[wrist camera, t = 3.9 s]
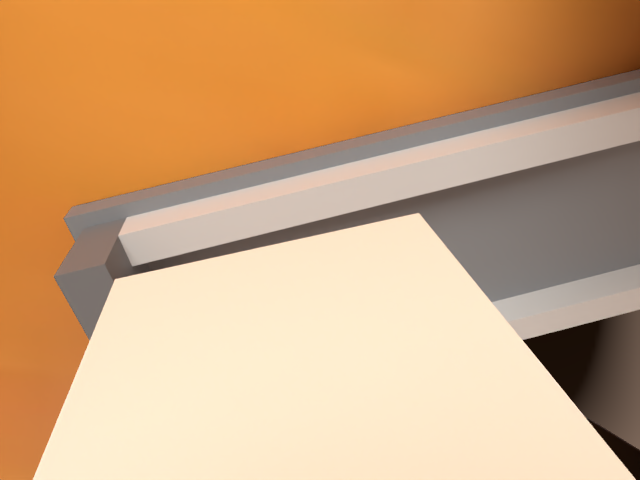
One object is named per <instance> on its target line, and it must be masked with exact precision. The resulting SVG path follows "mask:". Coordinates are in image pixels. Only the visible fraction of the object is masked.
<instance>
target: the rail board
mask: <svg viewBox="0 0 640 480" xmlns="http://www.w3.org/2000/svg"><path fill="white" fill-rule="evenodd" d="M416 213H419V214H420V215H421V216H422V217H423V219H424V220H425V221H426V222H427V224H428V225H429V226H430V227H431V229H432V230H433V231H434V232H435V233H436V235H437V236H438V237H439V238H440V240H441V241H442V242H443V243H444V245H445V246H446V247H447V248H448V249H449V251H450V252H451V253H452V254H453V256H454V257H455V258H456V259H457V260H458V262H459V263H460V264H461V265H462V267H463V268H464V269H465V270H466V272H467V273H468V274H469V275H470V276H471V278H472V279H473V280H474V281H475V283H476V284H477V285H478V286H479V288H480V289H481V290H482V291H483V292H484V294H485V295H486V296H487V297H488V299H489V300H490V301H491V302H492V304H493V305H494V306H495V307H496V308H497V310H498V311H499V312H500V313H501V315H502V316H503V317H504V318H505V319H506V321H507V322H508V323H509V324H510V326H511V327H512V328H513V329H514V331H515V332H516V333H517V334H518V335H519V337H520V338H521V339H522V340H524V339H527V338H532V337H536V336H540V335H543V334H547V333H551V332H555V331H559V330H563V329H567V328H570V327H574V326H578V325H582V324H586V323H590V322H594V321H597V320H601V319H605V318H609V317H613V316H617V315H620V314H624V313H628V312H632V311H636V310H640V69H638V70H634V71H630V72H625V73H621V74H617V75H613V76H609V77H605V78H601V79H597V80H592V81H588V82H584V83H580V84H576V85H572V86H568V87H564V88H559V89H555V90H551V91H547V92H543V93H539V94H535V95H531V96H527V97H522V98H518V99H514V100H510V101H506V102H502V103H498V104H494V105H489V106H485V107H481V108H477V109H473V110H469V111H465V112H461V113H457V114H452V115H448V116H444V117H440V118H436V119H432V120H428V121H424V122H419V123H415V124H411V125H407V126H403V127H399V128H395V129H391V130H387V131H382V132H378V133H374V134H370V135H366V136H362V137H358V138H354V139H349V140H345V141H341V142H337V143H333V144H329V145H325V146H321V147H316V148H312V149H308V150H304V151H300V152H296V153H292V154H288V155H284V156H279V157H275V158H271V159H267V160H263V161H259V162H255V163H251V164H246V165H242V166H238V167H234V168H230V169H226V170H222V171H218V172H214V173H209V174H205V175H201V176H197V177H193V178H189V179H185V180H181V181H176V182H172V183H168V184H164V185H160V186H156V187H152V188H148V189H143V190H139V191H135V192H131V193H127V194H123V195H119V196H115V197H111V198H106V199H102V200H98V201H94V202H90V203H86V204H82V205H78V206H73V207H72V208H71V209H70V211H69V212H68V213H67V215H66V216H65V217H64V220H65V222H66V224H67V226H68V228H69V230H70V232H71V234H72V236H73V238H74V240H75V243H74V245H73V247H72V248H71V250H70V251H69V253H68V254H67V256H66V258H65V259H64V261H63V262H62V264H61V266H60V267H59V269H58V270H57V272H56V274H55V275H54V278H55V280H56V282H57V284H58V285H59V287H60V289H61V291H62V292H63V294H64V296H65V298H66V299H67V301H68V303H69V305H70V306H71V308H72V310H73V312H74V314H75V315H76V317H77V319H78V321H79V322H80V324H81V326H82V328H83V329H84V331H85V333H86V335H87V337H88V338H89V340H90V339H91V337H92V334H93V332H94V329H95V327H96V324H97V322H98V320H99V317H100V315H101V312H102V310H103V307H104V305H105V302H106V300H107V298H108V295H109V293H110V290H111V288H112V285H113V283H114V280H115V279H118V278H123V277H128V276H132V275H137V274H141V273H146V272H150V271H155V270H160V269H164V268H169V267H173V266H178V265H182V264H187V263H192V262H196V261H201V260H205V259H210V258H215V257H219V256H224V255H228V254H233V253H237V252H242V251H247V250H251V249H256V248H260V247H265V246H270V245H274V244H279V243H283V242H288V241H292V240H297V239H302V238H306V237H311V236H315V235H320V234H324V233H329V232H334V231H338V230H343V229H347V228H352V227H357V226H361V225H366V224H370V223H375V222H379V221H384V220H389V219H393V218H398V217H402V216H407V215H411V214H416Z"/></svg>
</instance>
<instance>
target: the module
mask: <svg viewBox="0 0 640 480" xmlns="http://www.w3.org/2000/svg"><path fill="white" fill-rule="evenodd" d="M33 480H636V479H635V478H634V477H633V476H632V474H631V473H630V472H629V471H628V469H627V468H626V467H625V466H624V464H623V463H622V462H621V461H620V460H619V458H618V457H617V456H616V455H615V453H614V452H613V451H612V450H611V448H610V447H609V446H608V445H607V444H606V442H605V441H604V440H603V439H602V437H601V436H600V435H599V434H598V433H597V431H596V430H595V429H594V428H593V426H592V425H591V424H590V423H589V421H588V420H587V419H586V418H585V417H584V415H583V414H582V413H581V412H580V410H579V409H578V408H577V407H576V405H575V404H574V403H573V402H572V401H571V399H570V398H569V397H568V396H567V394H566V393H565V392H564V391H563V390H562V388H561V387H560V386H559V385H558V384H557V382H556V381H555V380H554V378H553V377H552V376H551V375H550V374H549V372H548V371H547V370H546V369H545V367H544V366H543V365H542V364H541V362H540V361H539V360H538V359H537V358H536V356H535V355H534V354H533V353H532V351H531V350H530V349H529V348H528V347H527V345H526V344H525V343H524V342H523V340H522V339H521V338H520V337H519V335H518V334H517V333H516V332H515V331H514V329H513V328H512V327H511V326H510V324H509V323H508V322H507V321H506V319H505V318H504V317H503V316H502V315H501V313H500V312H499V311H498V310H497V308H496V307H495V306H494V305H493V304H492V302H491V301H490V300H489V299H488V297H487V296H486V295H485V294H484V292H483V291H482V290H481V289H480V288H479V286H478V285H477V284H476V283H475V281H474V280H473V279H472V278H471V276H470V275H469V274H468V273H467V272H466V270H465V269H464V268H463V267H462V265H461V264H460V263H459V262H458V260H457V259H456V258H455V257H454V256H453V254H452V253H451V252H450V251H449V249H448V248H447V247H446V246H445V245H444V243H443V242H442V241H441V240H440V238H439V237H438V236H437V235H436V233H435V232H434V231H433V230H432V229H431V227H430V226H429V225H428V224H427V222H426V221H425V220H424V219H423V217H422V216H421V215H420V214H419V213H416V214H411V215H407V216H402V217H398V218H393V219H389V220H384V221H379V222H375V223H370V224H366V225H361V226H357V227H352V228H347V229H343V230H338V231H334V232H329V233H324V234H320V235H315V236H311V237H306V238H302V239H297V240H292V241H288V242H283V243H279V244H274V245H270V246H265V247H260V248H256V249H251V250H247V251H242V252H237V253H233V254H228V255H224V256H219V257H215V258H210V259H205V260H201V261H196V262H192V263H187V264H182V265H178V266H173V267H169V268H164V269H160V270H155V271H150V272H146V273H141V274H137V275H132V276H128V277H123V278H118V279H115V280H114V283H113V285H112V288H111V290H110V293H109V295H108V298H107V300H106V302H105V305H104V307H103V310H102V312H101V315H100V317H99V320H98V322H97V324H96V327H95V329H94V332H93V334H92V337H91V339H90V341H89V344H88V346H87V349H86V351H85V354H84V356H83V359H82V361H81V363H80V366H79V368H78V371H77V373H76V376H75V378H74V381H73V383H72V385H71V388H70V390H69V393H68V395H67V398H66V400H65V402H64V405H63V407H62V410H61V412H60V415H59V417H58V420H57V422H56V424H55V427H54V429H53V432H52V434H51V437H50V439H49V442H48V444H47V446H46V449H45V451H44V454H43V456H42V459H41V461H40V464H39V466H38V468H37V471H36V473H35V476H34V478H33Z"/></svg>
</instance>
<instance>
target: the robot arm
mask: <svg viewBox="0 0 640 480" xmlns="http://www.w3.org/2000/svg"><path fill="white" fill-rule="evenodd" d="M584 417H585V418H586V419H587V420H588V421H589V423H590V424H591V425H592V426H593V428H594V429H595V430H596V431H597V433H598V434H599V435H600V436H601V437H602V439H603V440H604V441H605V442H606V444H607V445H608V446H609V447H610V448H611V450H612V451H613V452H614V453H615V455H616V456H617V457H618V458H619V460H620V461H621V462H622V463H623V464H624V466H625V467H626V468H627V469H628V471H629V472H630V473H631V474H632V476H633V477H634V478H635V479H636V480H640V450H639V449H637V448H636V447H634V446H632V445H631V444H629V443H627V442H626V441H624V440H623V439H621V438H619V437H618V436H616V435H615V434H613V433H611V432H610V431H608V430H607V429H605V428H603V427H602V426H600V425H598V424H597V423H595V422H594V421H592V420H590V419H588V418H587V417H586V416H584Z"/></svg>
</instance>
